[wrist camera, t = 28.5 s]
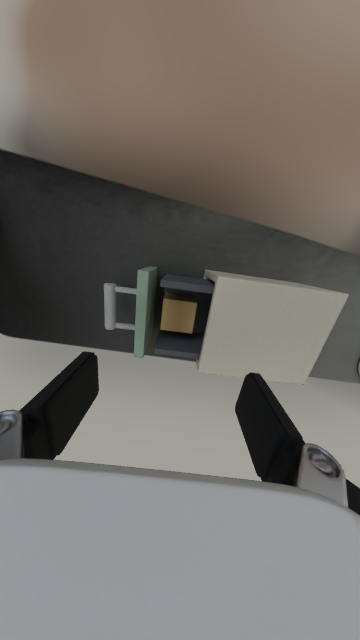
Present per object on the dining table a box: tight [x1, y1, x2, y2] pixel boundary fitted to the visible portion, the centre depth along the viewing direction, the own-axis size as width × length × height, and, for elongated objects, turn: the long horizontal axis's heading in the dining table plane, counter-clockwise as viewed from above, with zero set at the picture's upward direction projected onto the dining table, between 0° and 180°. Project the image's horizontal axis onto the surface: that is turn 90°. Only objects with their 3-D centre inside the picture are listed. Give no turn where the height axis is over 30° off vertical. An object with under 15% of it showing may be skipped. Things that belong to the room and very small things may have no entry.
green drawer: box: [104, 266, 215, 359], centre depth 23 cm, size 18×11×8 cm, turn 82°
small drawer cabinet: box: [196, 270, 349, 385], centre depth 24 cm, size 14×12×10 cm
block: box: [160, 292, 198, 334], centre depth 24 cm, size 4×4×4 cm
